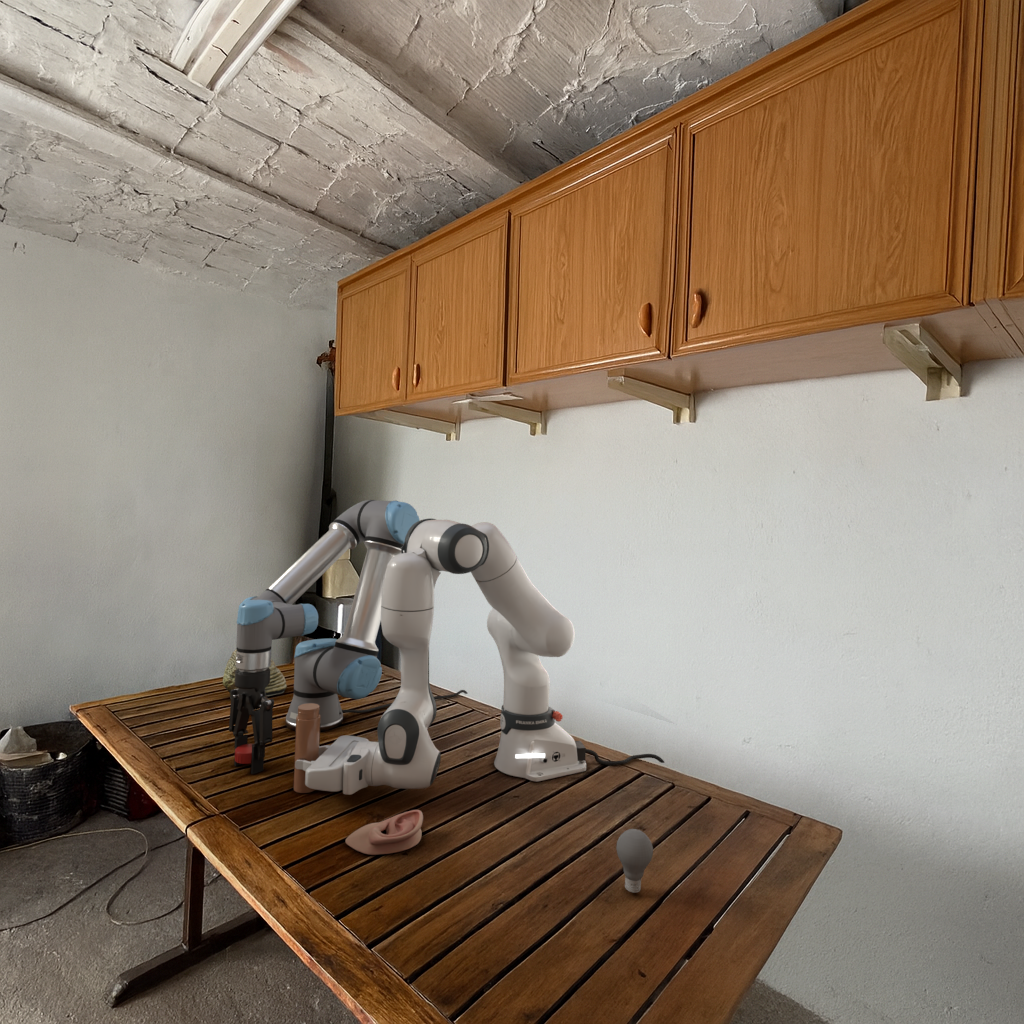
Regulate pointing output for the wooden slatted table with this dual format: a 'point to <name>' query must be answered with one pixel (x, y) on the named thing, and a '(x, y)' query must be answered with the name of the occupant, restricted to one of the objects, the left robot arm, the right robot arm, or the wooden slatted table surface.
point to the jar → (306, 741)
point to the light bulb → (634, 857)
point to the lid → (243, 754)
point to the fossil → (273, 688)
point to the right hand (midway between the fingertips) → (302, 757)
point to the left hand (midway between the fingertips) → (248, 767)
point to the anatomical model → (388, 834)
